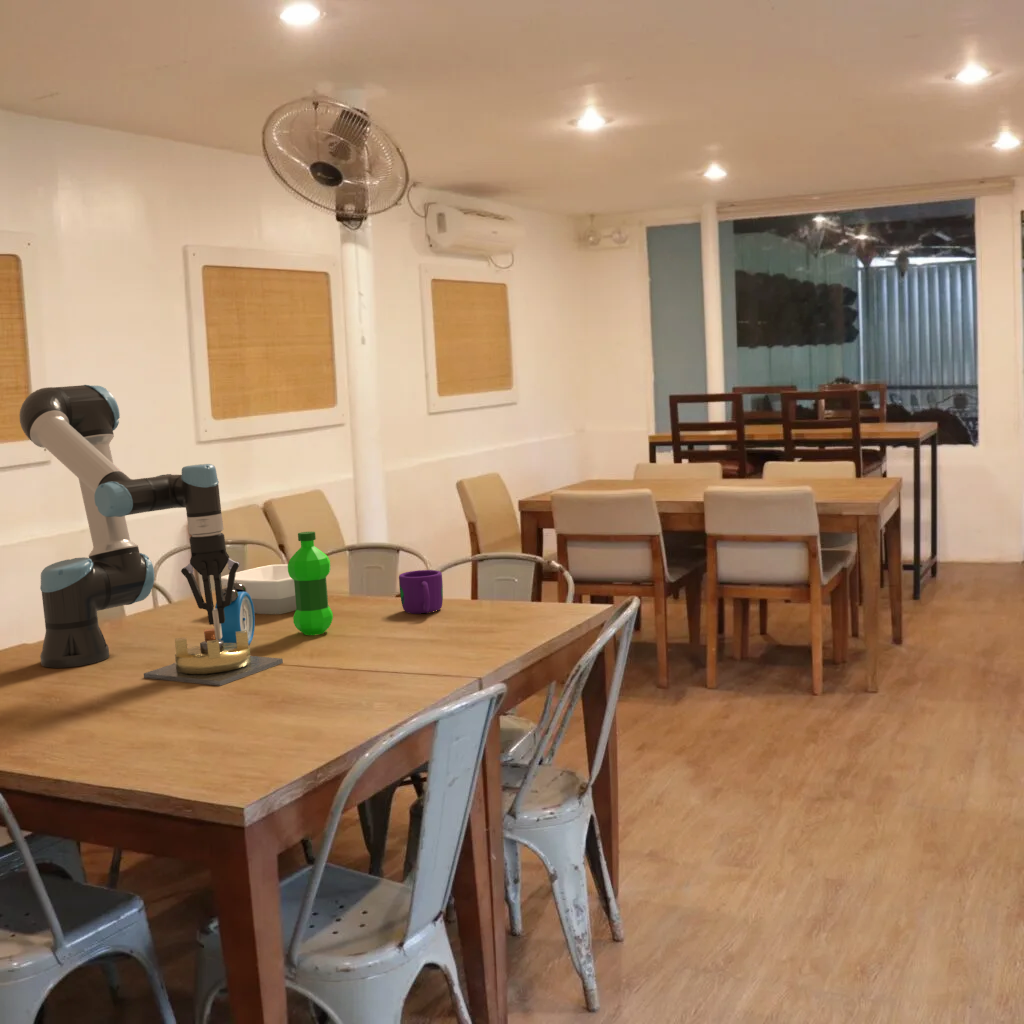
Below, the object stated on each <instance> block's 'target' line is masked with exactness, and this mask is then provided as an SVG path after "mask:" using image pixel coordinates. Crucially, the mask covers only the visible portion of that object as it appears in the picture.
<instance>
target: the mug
mask: <svg viewBox="0 0 1024 1024" xmlns="http://www.w3.org/2000/svg"><path fill="white" fill-rule="evenodd" d="M398 582H399V583H398V584H399V592H400V593H399V595H400V601H401V606H402V609H403V611H404V612H406V613H407V614H410V613H411V614H413V615H422V614H421V613H426V614H430V613H429V612H432V613H434V612H433V611H436V610H438V611H440V610H441V609H442V606H443V601H444V596H443V593H444V591H443V587H444V586H443V585H444V584H443V574H442V571H439V570H434V569H422V570H421V569H419V570H411V571H406V572H403V573H400V574H399V575H398ZM440 608H441V609H440ZM436 612H437V611H436Z"/></svg>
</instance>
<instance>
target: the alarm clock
mask: <svg viewBox="0 0 1024 1024" xmlns="http://www.w3.org/2000/svg"><path fill="white" fill-rule="evenodd" d="M226 591H227V587H226V586H225V587H222V592H223V601H225V598H226ZM216 608H217V603H215V605H214V609H216ZM224 613H225V622H224V623H221V629H222V638H221V639H216V640H223V642H224V643H236V632H237V631H246V630H247V634H248V646H249V647H250V645H251V643H252V642H253V639H254V634H255V628H256V627H255V623H256V622H255V621H256V619H255V618H256V617H255V613H254V607H253V602H252V599H251V597H250V595H249V594H248V593H247V590H246V587H245V586H244V585H242V584H240V583H237V582H236V583H234V588H233V595H232V602H231V604H230V605H229V606H226V607H225V608H224Z"/></svg>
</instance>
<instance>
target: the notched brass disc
mask: <svg viewBox="0 0 1024 1024" xmlns="http://www.w3.org/2000/svg"><path fill="white" fill-rule="evenodd" d="M203 632H204V633H203V635H204V641H201V642H199V645H196V646H190V647H188V642H187V637H179V638H178V637H177V638H174V643H175V645H174V646H175V647H174V648H175V654H174V663H176V670H177V671H179V672H181V673H188V674H207V673H217V672H224V671H229V670H233V669H237V668H240V667H243V666H245V665H247V664H249V663H250V662H251V657H250V656H251V648H250V645H249V646H248V634H247V630H246V631H237V632H236V643H224V642H223V640H217V639H216V638H215V630H214V628H207V629H203Z"/></svg>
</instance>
